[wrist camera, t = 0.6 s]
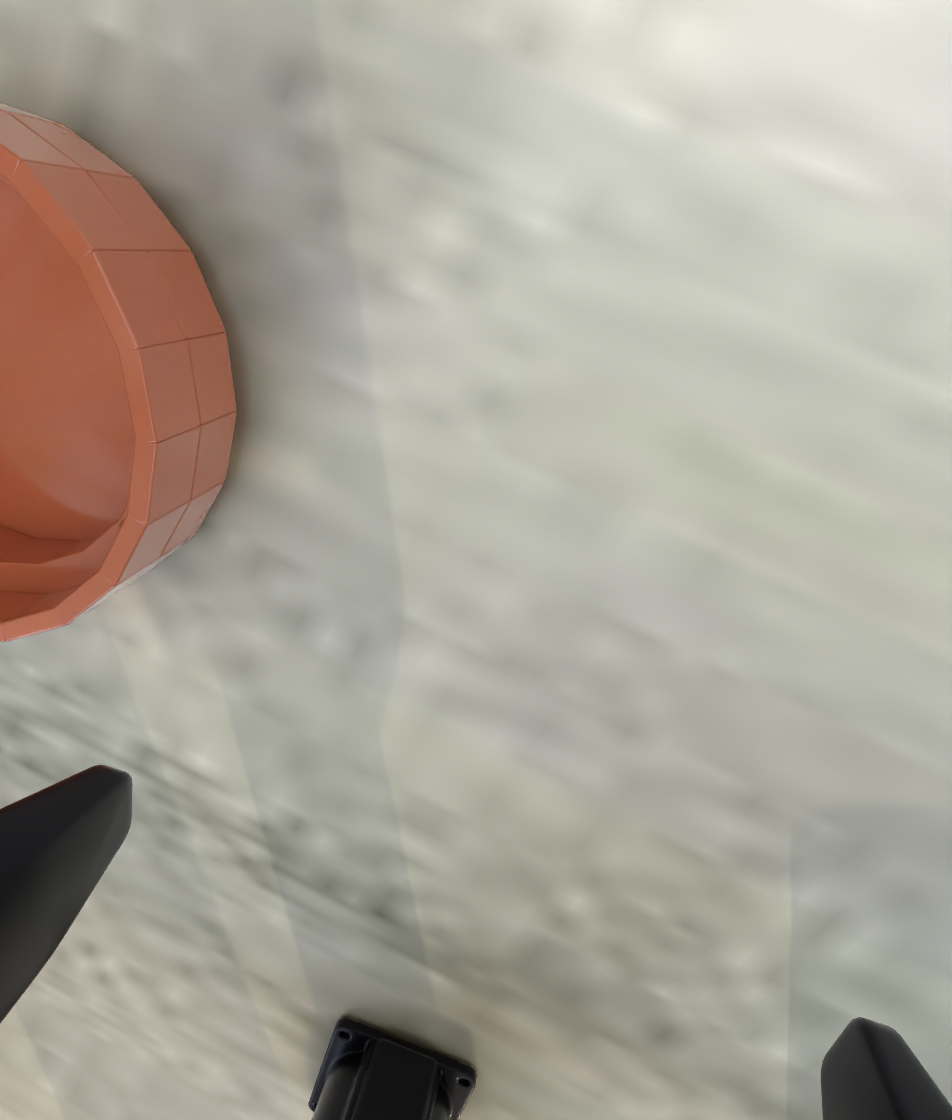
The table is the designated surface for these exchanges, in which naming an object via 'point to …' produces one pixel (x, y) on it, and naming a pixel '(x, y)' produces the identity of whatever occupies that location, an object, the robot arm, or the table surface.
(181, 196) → the table surface
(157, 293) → the bowl
